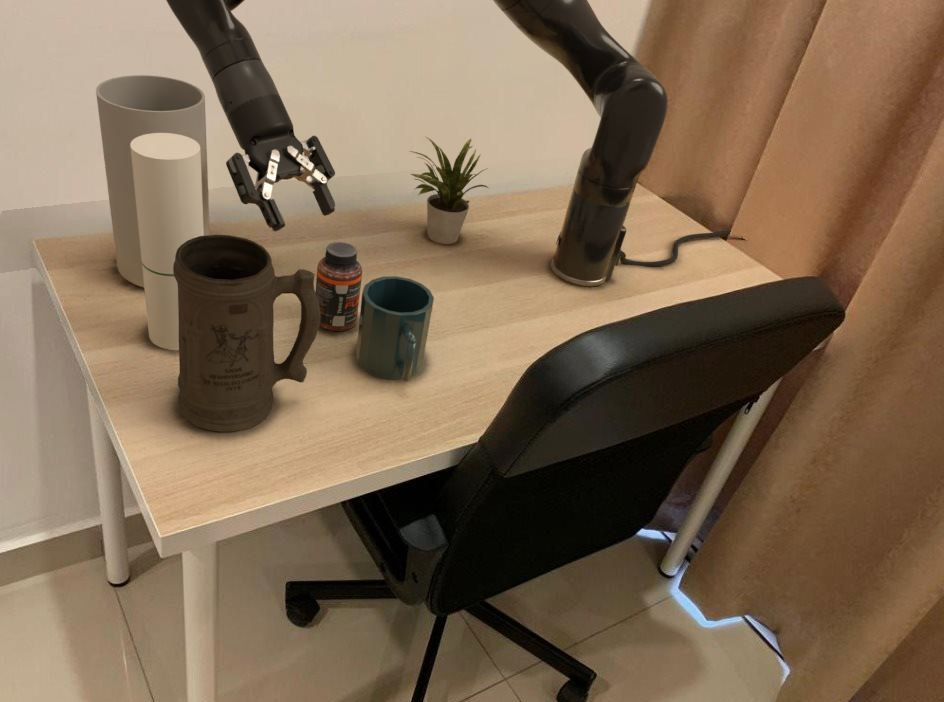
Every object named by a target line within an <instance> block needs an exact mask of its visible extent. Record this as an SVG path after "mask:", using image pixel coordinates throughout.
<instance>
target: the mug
mask: <svg viewBox="0 0 944 702" xmlns="http://www.w3.org/2000/svg"><path fill="white" fill-rule="evenodd" d="M434 301H435V297H434V295H433V293H432V292H431V290H430V288H428V287H427V286H425V285H424V284H423V283H421V282H419V281H417V280H414V279H411V278H407V277H404V276H403V277H402V276H396V275H395V276H394V275H393V276H391V275H389V276H388V275H387V276H381V277H380V276H379V277H376V278H373V279H371V280H369V282H367V283H366V284H364V286H363V289H362V293H361V301H360V312H359V321H358V331H357V340H356V350H355V356H356V357H355V359H356V361H357V364H358V365H359V367H360V368H361V369H362V370H363V371H364V372H366V373H367V374H370V375H372V376H374V377H376V378H380V379H385V380H402V381H403V382H409V381H410V380H411V377H412V376H415V375H416V374H417V373H419V371H421V368H422V367H423V364H424V363H423V362H424V358H425V352H426V345H427V341H428V334H429V330H430V329H429V328H430V322H431V318H432V311H433V306H434Z"/></svg>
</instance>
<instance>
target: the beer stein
mask: <svg viewBox="0 0 944 702" xmlns="http://www.w3.org/2000/svg"><path fill="white" fill-rule="evenodd" d="M173 274H174V277H175V279H176V281H177V283H178V315H179V350H178V363H179V365H178V366H179V373H178V377H177V388H178V389H179V391H178V402H177V403H178V407H179V410H180V412H181V414H182V416H184V418H186V419H187V420H188V421H189V422H190V423H191V424H193V425H195V426H196V427H198V428H201V429H204V430H208V431H212V432H236V431H242V430H247V429H249V428H253V427H254V426H256V425H257V424H259V423H262V422H263V421H264V420H265V419H266V418H267V417H268V415H270V413H271V412H272V409H273V406H274V391H273V387H274V386H275V385H276V384H277V383H278V382H281V381H282V380H291V381H294V382H298V383H304V381H305V380H306V378H307V373H308V369H307V368H306V366H305V365H304V360H305V357H306V355H307V354H308V352H309V350H310V349H311V347H312V345H313V343H314V342H315V340H316V338H317V335H318V331H319V329H320V318H321V315H320V307H319V302H318V299H317V296H316V289H315V275H316V274H315V273H314V272H312V271H311V270H307V269H304V268H303V269H298V270H297V271H296V272H294V273H293V274H290V275H280V276H277V275H276V272H275V269H274V265H273V261H272V257H271V255H270V252H268V250H267V249H266V248H265V247H263V246H262V245H261V244H258V243H257V242H255V241H253V240H250V239H249V238H245V237H241V236H235V235H229V234H210V235H206V236H199V237H196V238H193V239H190V240H188V241H186V242H185V243H183V244H182V245H181V246H180V247H179V248H178V249H177V252H176V256H175V262H174V266H173ZM283 294H284V295H286V294H293V295H295V296H296V297H297V299H298V301H299V302H300V311H301V312H300V323H299V327H298V331H297V335H296V338H295V341H294V343H293V345H292V348H291V350H290V351H289V354H288V355H287V357H286V358H285V359H284V361H283V362H281V363H277V362H276V361H275V353H274V323H275V322H274V320H275V319H274V303H275V301H276V299H277V298H278V297H279V296H281V295H283Z"/></svg>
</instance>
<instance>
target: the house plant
mask: <svg viewBox="0 0 944 702" xmlns="http://www.w3.org/2000/svg"><path fill="white" fill-rule="evenodd" d="M425 138H426V139H427V140H428V141H429V142H430V143H431V144H432V146H433V147H434V149H435V152H436V155H437V159H438V162H439V165H440V167H439V166H437V165H436V163H435V162H434V161H433V160H432V159H431V158H430V157H428V156H427V155H425V154H423V153H420V152H418V151H413V150H409V152H410V153H412V154H413V153H414V154H417V155H419V156H417V158H419V159H422V160H425V161H426V162H427V163H428V164H427V163H426V162H424V164H425V166H426V167H427V169H428V172H427V171H426V172H423V173H421V174H420V173H419V174H418V173H417V174H416V173H410V176H412V177H415V181H416V180H417V181H420V182H422V183H421V184H419V185H417V186H416V187H415V188H414V189H413V191H415V190H416V189H421V190H420V191H419V193H418V195H422V194H426V193H430V192H432V193H433V194H431V195H430V196H429V197H427V200H426V216H427V217H426V218H427V220H426V221H427V225H426V226H427V227H426V228H427V237H428V238H429V240H431V241H432V242H435V243H437V244H442V245H451V244H454V243H456V242H457V241H458V239H459V237H460V234H461V231H462V229H463V225H464V223H465V220H466V217H467V215H468V212H469V210H470V205H469V203H470V200H468V199H467V200H465V199H464V198H463V197H464V195H465V194H467V192H469V191H470V190H472V189H475V188H481V187H482V188H483V187H484V188H487V189H489V187H488V186H487V185H485V184H476V185H473V186H471V187H469V188H468V189H466V190H465V191H463V190H464V189H465V187H466V186H467V185H468V184H469V183H470V182H471V181H472V180H473V179H475V177H477V176H478V175H480V174H481V173H482V172H484V171H486V170H488V169H489V167H487V168H485V169H482V170H481V171H479V172H478V173H473V174H472V172H473V170H474V169H475V168H476V166H477V163H478V162H479V160H480V157H481V155H482V154H481V153H480V154H479V155H478V156H477V157H476V159H475V160H474V158H475V156H476V152H477V149H475V150H473V153H472V155H471V156H470V157H469V159H468V161H467V164H466V165H465V167H464V169H463V170H462V167H463V164H464V161H465V158H466V156H467V154H468V152H469V150H470V149H472V148H473V146H474V145H472V146H470V144H471V142H472V138H469V139H468V140H467V141H466V142H465V143H464V145H463V146H462V148H461V150H460V152H459V154H457V157H456V159H455V160H454V163H453V166H452V164H451V162H450V160H449V158H448V156H447V155H446V153H445V152H444V151H443V149H442V148H441V147H439V145H437V144H436V143H435V142H434V141H433V140H432V139H431V138H429V137H427V136H425ZM421 156H422V157H421ZM425 158H426V159H425ZM428 160H429V161H430V162H431V163H432V164H431V163H430V162H429V161H428ZM434 167H435V169H436V170H435V169H434ZM436 171H437V172H438V174H439V175H440V178H441V180H442V181H441V180H440V179H439V176H438V175H437V173H436ZM461 171H462V172H461ZM427 183H428V184H427ZM434 187H436V188H434ZM434 191H435V192H436V193H435V192H434Z"/></svg>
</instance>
